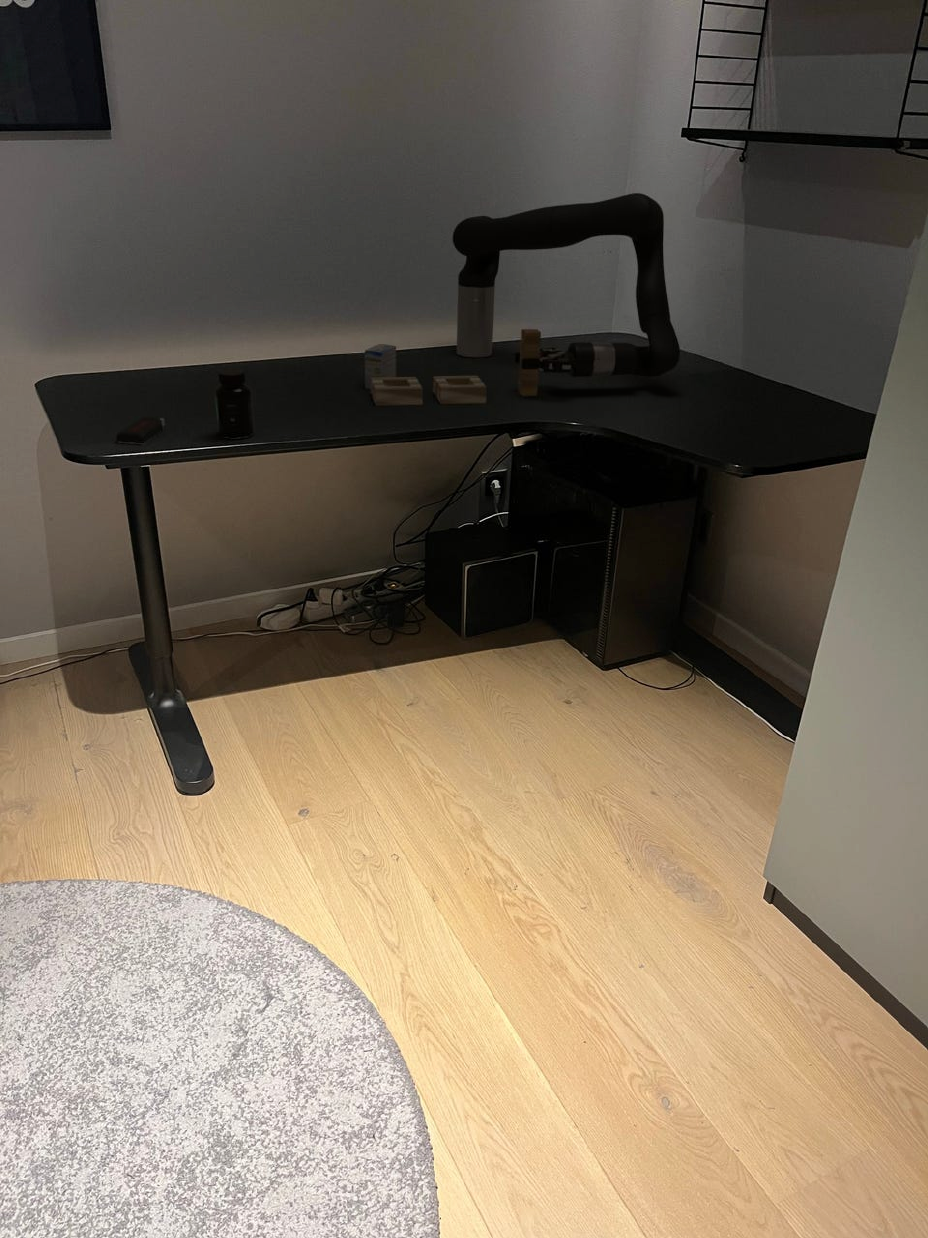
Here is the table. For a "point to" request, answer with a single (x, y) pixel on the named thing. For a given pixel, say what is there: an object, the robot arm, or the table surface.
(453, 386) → the end cap
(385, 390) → the end cap
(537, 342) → the tall brown wooden block
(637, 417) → the table surface
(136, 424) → the usb drive
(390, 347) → the medicine box
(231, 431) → the supplement bottle
